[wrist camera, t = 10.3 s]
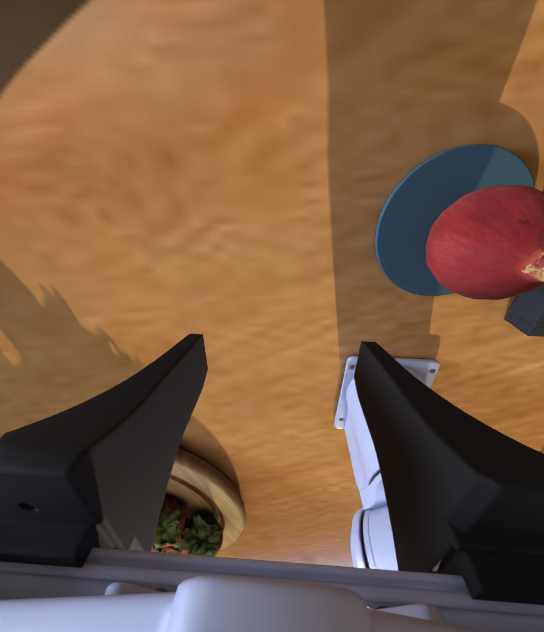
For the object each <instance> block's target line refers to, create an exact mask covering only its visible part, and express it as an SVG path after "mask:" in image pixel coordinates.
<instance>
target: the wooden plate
mask: <svg viewBox="0 0 544 632" xmlns="http://www.w3.org/2000/svg"><path fill="white" fill-rule="evenodd" d="M245 519H246V513H245V507H244V504H243V501H242V499H241V496H240V494H239V493H238V491H237V489H236V488H235V487H234V486H233V484H232V483H231V482H230V481H229V480H228V479H227V478H226V477H225V476H224V475H223V474H221V473H220V472H219V471H218V470H216V469H215V468H214V467H212V466H211V465H210V464H208V463H207V462H205V461H203V460H202V459H200V458H198V457H197V456H195V455H193V454H191V453H189V452H187V451H185V450H183V449H180V448H178V452H177V455H176V458H175V461H174V465H173V468H172V472H171V475H170V479H169V482H168V486H167V489H166V493H165V497H164V501H163V504H162V508H161V512H160V516H159V520H158V524H157V528H156V532H155V536H154V541H153V545H152V549H151V552H161V553H174V554H187V555H200V556H213V557H214V556H215V555H216V554H217V553H218V552H219V551H221V550H224V549H225V548H227V547H229V546H230V545H231V544H233V543H234V542H235V541H236V540H237V538H238V537H239V536H240V534H241V532H242V530H243V528H244V525H245Z"/></svg>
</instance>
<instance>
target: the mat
mask: <svg viewBox="0 0 544 632" xmlns="http://www.w3.org/2000/svg"><path fill="white" fill-rule="evenodd" d="M497 185H524V186H531V187H533V188H535V187H534V182H533V179H532V176H531V173H530V172H529V170H528V168H527V166H526V165H525V164H524V163H523V162H522V160H521V159H520V158H519V157H517V156H516V155H515V154H513V153H512V152H510V151H508V150H506V149H504V148H501V147H497V146H493V145H485V144H477V145H465V146H460V147H455V148H452V149H449V150H446V151H443V152H441V153H439V154H437V155H435V156H433V157H431V158H429V159H428V160H426V161H424V162H423V163H421V164H420V165H419V166H417V167H416V168H415V169H413V170H412V171H411V172H410V173H409V174H408V175H407V176H406V177H405V178H404V179H403V180H402V181H401V182H400V183H399V184H398V185H397V187H396V188H395V189H394V191H393V192H392V193H391V195H390V196H389V198H388V200H387V201H386V203H385V205H384V207H383V209H382V212H381V214H380V217H379V220H378V223H377V227H376V234H375V250H376V256H377V259H378V262H379V265H380V267H381V269H382V270H383V272H384V273H385V275H386V276H387V277H388V278H389V279H390V280H391V281H392V282H393V283H394V284H395V285H397V286H398V287H400V288H401V289H403V290H405V291H408V292H410V293H413V294H418V295H425V296H439V295H446V294H451V293H455V292H453V291H451V290H449V289H447V288H445V287H443V286H442V285H440V284H439V283H438V281H437V279H436V278H435V276H434V275H433V273H432V272H431V270H430V268H429V267H428V265H427V259H426V244H427V240H428V237H429V233H430V230H431V227H432V225H433V224H434V223H435V221H436V220H437V219H438V217H439V216H440V215H441V213H442V212H443V211H444V210H446V209H447V208H448V207H449V206H451V205H452V204H453V203H455V202H456V201H457V200H459V199H460V198H461V197H463V196H464V195H466V194H469V193H471V192H474V191H477V190H479V189H482V188H484V187H490V186H497Z"/></svg>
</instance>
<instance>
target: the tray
mask: <svg viewBox="0 0 544 632" xmlns="http://www.w3.org/2000/svg"><path fill="white" fill-rule="evenodd" d="M504 319H505V320H506V321H508V322H509V323H510V324H512V325H513V326H515V327H516V328H517V329H519V330H520V331H522V332H523V333H524V334H526V335H527V336H544V285H542V286H540V287H538V288H536V289H534V290H532V291H529V292H526V293H523V294H521V295H517V296H516V298H515V300H514V301H513V303H512V305H511V307H510V309H509V311H508V313H507V314H506V316H505V318H504Z"/></svg>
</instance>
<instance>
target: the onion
mask: <svg viewBox="0 0 544 632" xmlns="http://www.w3.org/2000/svg"><path fill="white" fill-rule="evenodd" d="M426 259H427V265H428V267H429V268H430V270H431V272H432V273H433V275H434V276H435V278H436V279H437V281H438V283H439V284H440V285H442V286H443V287H445V288H447V289H449V290H451V291H453V292H455V293H458V294H460V295H462V296H465V297H469V298H473V299H490V300H497V299H504V298H509V297H513V296H517V295H521V294H523V293H526V292H529V291H532V290H534V289H536V288H538V287H540V286H542V285H544V192H542V191H539V190H537V189H535V188H533V187H531V186H524V185H497V186H490V187H484V188H482V189H479V190H477V191H474V192H471V193H469V194H466V195H464V196H463V197H461V198H460V199H459V200H457V201H456V202H455V203H453V204H452V205H451V206H449V207H448V208H447V209H446V210H444V211H443V212H442V213H441V215H440V216H439V217H438V219H437V220H436V221H435V223H434V224H433V225H432V227H431V230H430V233H429V237H428V240H427V244H426Z"/></svg>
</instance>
